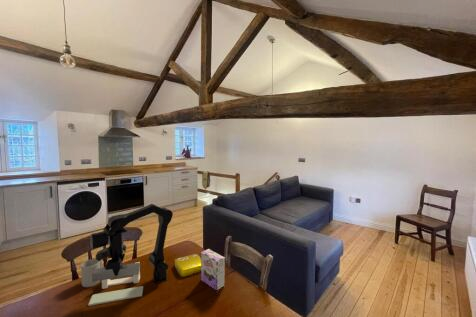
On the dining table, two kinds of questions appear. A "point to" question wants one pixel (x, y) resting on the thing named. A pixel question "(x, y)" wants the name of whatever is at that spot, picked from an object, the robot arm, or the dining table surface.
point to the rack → (121, 280)
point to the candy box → (212, 269)
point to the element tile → (188, 265)
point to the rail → (109, 274)
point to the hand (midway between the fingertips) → (117, 273)
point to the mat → (116, 295)
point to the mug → (89, 272)
